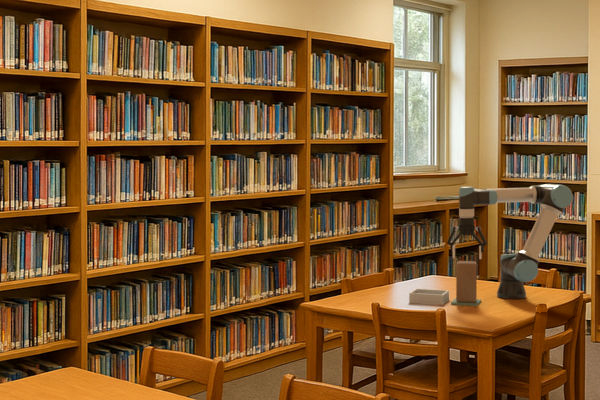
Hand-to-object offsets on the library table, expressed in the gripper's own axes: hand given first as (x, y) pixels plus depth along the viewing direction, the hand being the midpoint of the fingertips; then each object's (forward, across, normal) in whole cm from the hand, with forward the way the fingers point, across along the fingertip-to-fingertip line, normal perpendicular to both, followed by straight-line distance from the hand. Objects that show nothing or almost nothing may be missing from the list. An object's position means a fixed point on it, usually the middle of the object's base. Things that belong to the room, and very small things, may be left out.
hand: (467, 258), depth 425 cm
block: (+22, 0, 0) cm, 22 cm away
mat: (+23, +1, 0) cm, 23 cm away
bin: (+23, +20, +1) cm, 30 cm away
